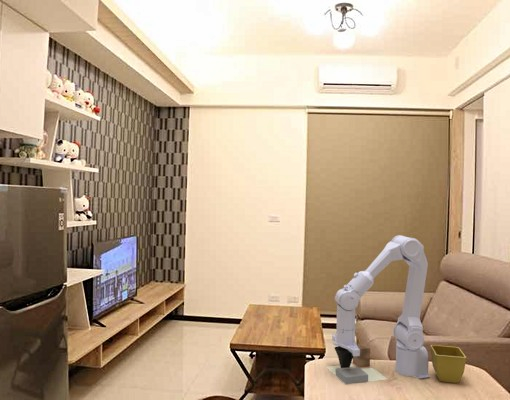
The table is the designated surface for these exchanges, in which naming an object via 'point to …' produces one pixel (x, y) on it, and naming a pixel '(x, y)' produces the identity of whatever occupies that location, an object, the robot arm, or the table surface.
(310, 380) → the table surface
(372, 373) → the puzzle board
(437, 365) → the flower pot
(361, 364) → the walnut block
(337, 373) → the sliding cover
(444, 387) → the table surface
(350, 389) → the table surface
